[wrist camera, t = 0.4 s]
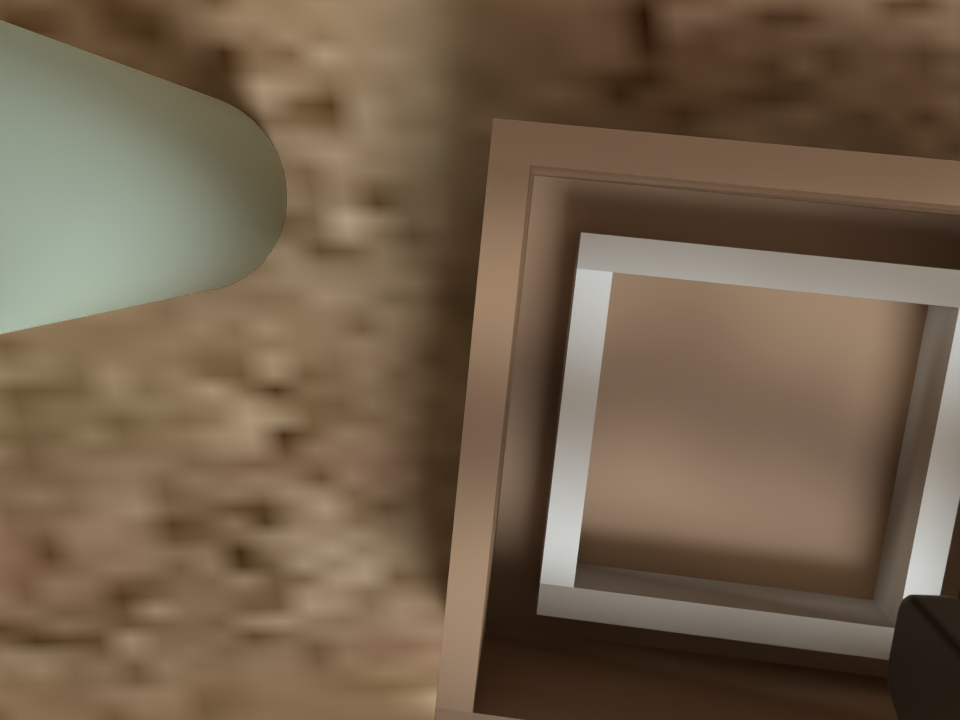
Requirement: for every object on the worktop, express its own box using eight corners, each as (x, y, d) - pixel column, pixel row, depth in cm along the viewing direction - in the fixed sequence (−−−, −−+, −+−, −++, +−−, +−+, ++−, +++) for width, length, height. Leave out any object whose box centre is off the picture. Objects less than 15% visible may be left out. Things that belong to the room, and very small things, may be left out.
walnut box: (948, 695, 22) (1059, 829, 18) (457, 631, 23) (432, 741, 18) (1052, 192, 20) (1214, 184, 15) (506, 141, 21) (493, 117, 16)
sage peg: (280, 300, 22) (-157, 432, 8) (96, 281, 23) (-614, 376, 9) (292, 103, 21) (-173, -109, 8) (100, 85, 22) (-678, -148, 8)
